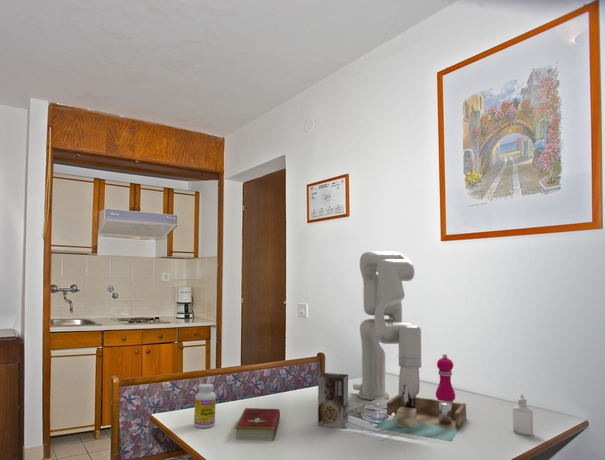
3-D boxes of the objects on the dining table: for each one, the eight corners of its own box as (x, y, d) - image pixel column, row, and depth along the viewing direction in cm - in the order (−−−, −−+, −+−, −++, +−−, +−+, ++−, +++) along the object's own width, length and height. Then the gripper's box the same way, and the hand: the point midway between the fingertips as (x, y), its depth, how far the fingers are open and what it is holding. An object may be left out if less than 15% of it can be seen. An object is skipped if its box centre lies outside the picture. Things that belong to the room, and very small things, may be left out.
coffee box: (348, 423, 158) (349, 374, 160) (344, 429, 152) (344, 378, 154) (322, 420, 161) (323, 372, 163) (317, 426, 155) (317, 375, 157)
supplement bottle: (198, 430, 149) (199, 388, 150) (191, 424, 155) (192, 384, 156) (218, 426, 153) (219, 386, 154) (210, 421, 158) (211, 382, 159)
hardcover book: (279, 420, 162) (280, 408, 162) (274, 442, 141) (274, 427, 141) (245, 419, 162) (245, 407, 162) (234, 440, 141) (235, 426, 142)
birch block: (397, 426, 153) (397, 410, 154) (401, 422, 158) (401, 406, 158) (412, 428, 151) (412, 412, 151) (416, 424, 155) (416, 408, 156)
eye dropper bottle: (525, 436, 148) (524, 397, 149) (511, 431, 153) (510, 393, 154) (535, 435, 149) (534, 396, 151) (521, 429, 155) (519, 392, 156)
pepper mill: (453, 405, 183) (452, 352, 185) (457, 410, 176) (456, 355, 178) (434, 404, 184) (433, 352, 186) (437, 409, 177) (437, 355, 179)
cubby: (374, 430, 151) (374, 411, 152) (398, 411, 174) (398, 394, 174) (451, 444, 140) (450, 423, 140) (466, 421, 162) (465, 403, 163)
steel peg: (438, 422, 157) (438, 404, 158) (439, 419, 161) (439, 401, 161) (450, 424, 155) (451, 405, 156) (451, 421, 159) (452, 403, 160)
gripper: (405, 357, 169) (405, 410, 167) (392, 364, 156) (392, 421, 154) (426, 359, 165) (426, 413, 164) (415, 366, 152) (415, 425, 150)
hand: (410, 417), depth 159 cm, fingers closed
